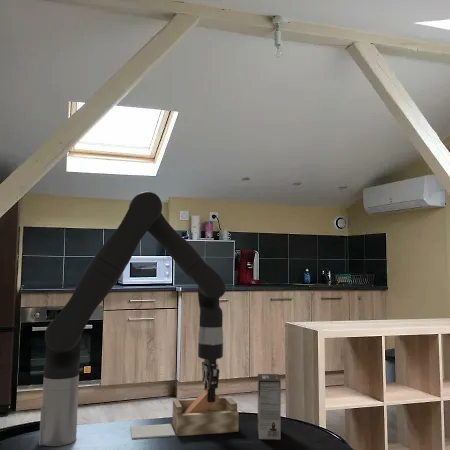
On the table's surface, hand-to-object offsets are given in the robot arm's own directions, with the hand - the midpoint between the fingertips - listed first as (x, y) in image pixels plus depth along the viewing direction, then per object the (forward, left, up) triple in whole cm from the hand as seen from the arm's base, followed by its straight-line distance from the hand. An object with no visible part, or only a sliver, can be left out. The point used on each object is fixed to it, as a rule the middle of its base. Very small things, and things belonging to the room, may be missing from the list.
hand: (209, 399), depth 140 cm
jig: (-2, 0, -8) cm, 8 cm away
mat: (-17, 0, -8) cm, 19 cm away
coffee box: (+16, -9, -8) cm, 20 cm away
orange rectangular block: (-2, 0, -3) cm, 4 cm away
